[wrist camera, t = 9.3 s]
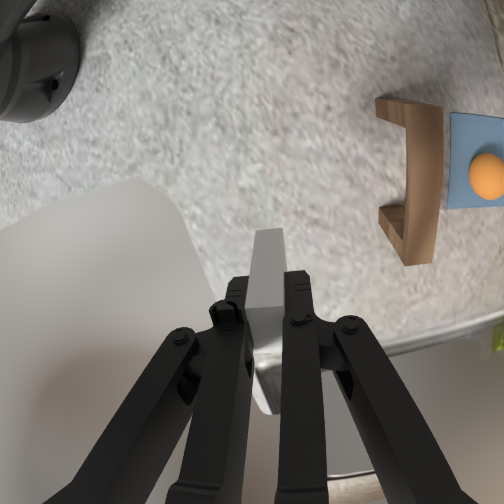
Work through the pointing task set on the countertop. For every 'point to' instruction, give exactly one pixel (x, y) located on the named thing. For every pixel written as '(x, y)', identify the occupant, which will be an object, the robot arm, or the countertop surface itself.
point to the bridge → (415, 180)
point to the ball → (487, 176)
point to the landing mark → (472, 156)
